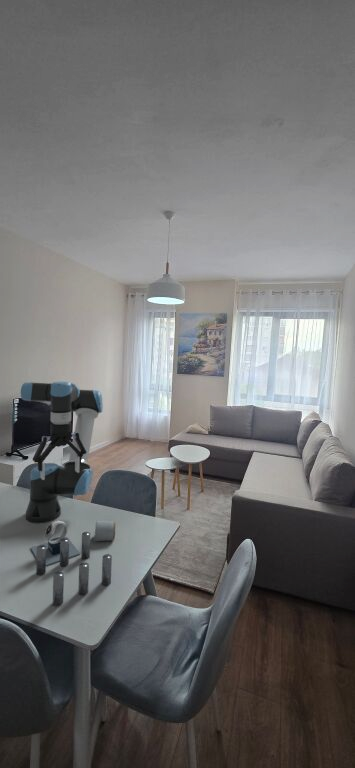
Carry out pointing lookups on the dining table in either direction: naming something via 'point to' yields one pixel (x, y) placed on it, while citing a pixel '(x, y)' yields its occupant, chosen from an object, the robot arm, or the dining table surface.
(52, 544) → the watch
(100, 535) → the ceramic mug
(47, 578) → the dining table surface
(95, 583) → the dining table surface
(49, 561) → the mat
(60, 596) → the post field
